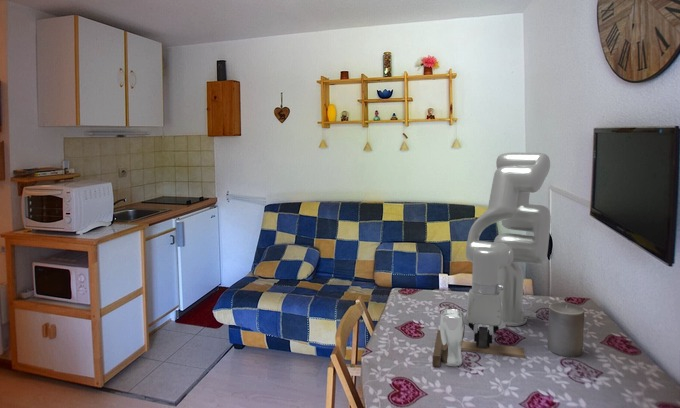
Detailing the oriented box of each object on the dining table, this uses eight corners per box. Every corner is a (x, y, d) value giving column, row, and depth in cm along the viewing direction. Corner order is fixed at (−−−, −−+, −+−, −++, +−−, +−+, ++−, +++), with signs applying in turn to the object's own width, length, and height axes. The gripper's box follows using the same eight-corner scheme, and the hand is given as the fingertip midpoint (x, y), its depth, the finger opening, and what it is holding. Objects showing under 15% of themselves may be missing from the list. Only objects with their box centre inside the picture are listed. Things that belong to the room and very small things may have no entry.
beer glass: (465, 368, 125) (466, 318, 123) (440, 366, 126) (441, 317, 124) (462, 356, 132) (463, 309, 129) (438, 354, 133) (439, 307, 130)
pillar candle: (579, 345, 138) (581, 299, 135) (585, 359, 128) (587, 311, 126) (545, 341, 141) (547, 296, 139) (548, 355, 132) (551, 307, 130)
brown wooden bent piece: (523, 350, 135) (524, 329, 134) (530, 379, 118) (531, 356, 117) (437, 340, 142) (437, 320, 141) (432, 366, 126) (433, 344, 125)
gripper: (512, 286, 134) (509, 342, 137) (458, 281, 139) (456, 336, 142) (514, 294, 127) (511, 353, 130) (456, 289, 132) (455, 346, 135)
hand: (482, 344), depth 136 cm, fingers closed on brown wooden bent piece, 2 cm apart
